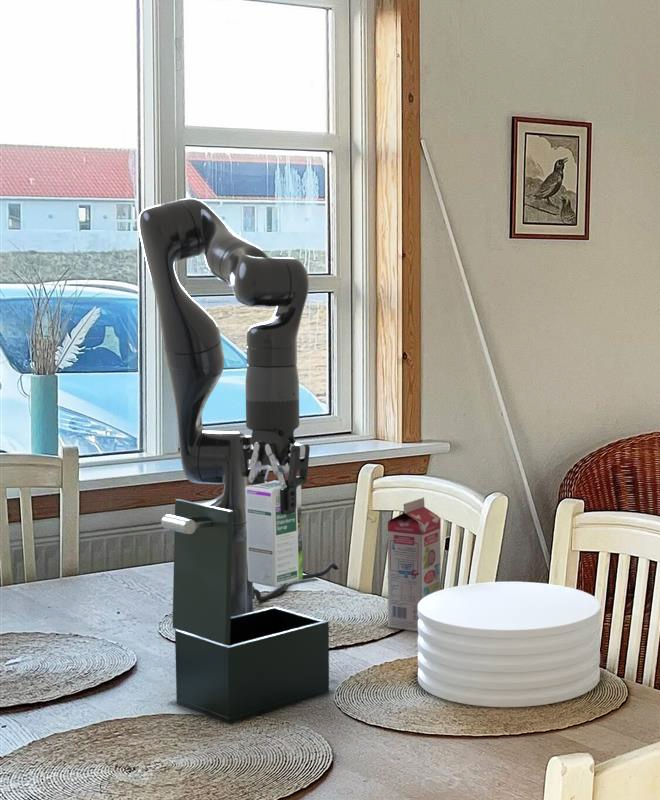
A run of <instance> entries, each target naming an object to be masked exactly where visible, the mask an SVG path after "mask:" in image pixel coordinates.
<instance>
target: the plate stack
mask: <svg viewBox="0 0 660 800" xmlns="http://www.w3.org/2000/svg"><path fill="white" fill-rule="evenodd" d="M601 614H602V605H601V602H600V601H599V599H598V598H596V596H594V595H592V594H590V593H589V592H586V591H583V590H580V589H577V588H573V587H569V586H564V585H558V584H553V583H552V584H551V583H545V582H532V581H489V582H488V581H487V582H478V583H477V582H476V583H469V584H461V585H455V586H452V587H448V588H443V589H440V591H437V592H434V593H431V594H429V595H427V596H426V597H424V598H423V599H422V600H421V601H420V602H419V603H418V617H419V620H418V631H417V633H418V635H417V650H418V652H417V665H418V669H417V682H418V684H419V686H420V687H421V688H422V689H423V690H424V691H425V692H427V693H429V694H431V695H433V696H434V697H438V698H439V699H443V700H446V701H449V702H452V703H453V702H454V703H458V704H463V705H469V706H478V707H487V708H489V707H490V708H524V707H525V708H527V707H535V706H536V707H537V706H544V705H551V704H556V703H561V702H565V701H568V700H572V699H575V698H578V697H581V696H582V695H585V694H587V693H588V692H590V691H592V690H593V689H595V688H596V687H597V686H598V684H599V682H600V680H601V668H600V664H601V651H600V648H601V634H600V633H601V631H602V630H601V629H602V627H601V625H602V622H601V618H600V617H601Z"/></svg>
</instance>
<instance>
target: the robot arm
mask: <svg viewBox="0 0 660 800" xmlns="http://www.w3.org/2000/svg"><path fill="white" fill-rule="evenodd" d="M138 232H139V238H140V242H141V247H142V250H143V254H144V257H145V262H146V265H147V269H148V273H149V276H150V280H151V284H152V287H153V292H154V296H155V301H156V307H157V311H158V312H157V313H158V318H159V323H160V330H161V337H162V346H163V350H164V355H165V356H164V357H165V360H166V367H167V370H168V375H169V380H170V383H171V388H172V394H173V399H174V401H173V402H174V405H175V413H176V422H177V423H176V424H177V433H178V435H177V436H178V443H179V444H178V445H179V454H180V461H181V468H182V471H183V475H184V476H185V478H186V479H187V480H188V481H189V482H190V483H194V484H201V485H206V484H207V485H224V486H223V492H222V494H221V495H220V496H218V497H216V498H214V499H211V500H208V501H205V502H201V503H200V504H204V505H209V506H213V507H218V508H222V509H227V510H231V511H233V539H232V581H231V617H234V616H238V615H242V614H246V613H250V612H254V600H255V599H256V600H257V601H259V602H264V601H266V600H267V601H268V600H269V599H272V598H273V597H275V596H276V595H278V594H279V593H281V592H282V591H283V590H284V589H285V588H286V585H288V583H286V584H283V585H279V586H278V587H276V588H275V589H274V590H271V592H269V593H267V594H265V595H263V596H261V592H260V590H259V589H256V588H255V586H254V583H253V582H250V581H248V559H247V522H246V487H247V486H249V483H250V485H256V484H261V483H267V482H268V481H266V480H267V479H268V476H269V472H270V470H271V469H272V473H273V474H274V475H275V476H277V478H278V481H279V483H280V486H281V488H282V489H280V510H281V513H282V514H285V515H286V514H292V513H294V512H295V511H296V489H297V487H298V486H300V485H301V486H302V485H306V484H307V482H308V473H309V463H310V462H309V459H310V452H311V451H310V450H311V449H310V445H309V444H308V443H304V444H300V443H298V442H297V441H296V439H295V438H296V437H295V435H294V432H295V430H297V429H298V428H299V426H300V378H299V371H298V333H299V330H300V325H301V321H302V316H303V313H304V309H305V306H306V302H307V299H308V294H309V289H310V278H309V274H308V271H307V269H306V267H305V265H304V263H302V262H301V261H300V260H299V259H297V258H294V257H268V255H267V254H266V253H265V251H263V250H262V248H260V247H259V246H257V245H256V244H255V245H254V244H253V243H251V242H249V241H248V240H246V239H244V238H242V237H240V236H239V235H237V234H236V233H235V232H234V231H233V230H232V228H230V227H229V226H228V225H227V224H226V222H225V221H223V219H222V218H221V217H219V216H218V215H217V213H216V212H215V211H214V210H213V209H211V207H209V206H208V205H207V203H205V202H203V201H202V200H200V199H198V198H191V197H190V198H183V199H178V200H174V201H170V202H166V203H161V204H157V205H154V206H150V207H146V208H145V209H142V211H141V212H140V214H139V216H138ZM203 254H204V260H205V264H206V267H207V268H208V271H210V273H212V275H213V276H214V277H216V278H217V279H218V280H220V281H221V282H223V283H225V284H227V285H228V286H229V287H230V289H231V291H232V293H233V295H234V297H235V299H236V300H237V301H238V302H239V303H240V304H242V305H244V306H248V307H251V308H269V307H271V308H272V307H274V308H275V307H276V308H275V311H274V313H273V315H272V317H271V318H270V319H269V320H267V321H264V322H260V323H256V324H253V325H251V326H250V327H249V328H248V330H247V331H246V332H247V333H246V365H247V366H246V373H245V374H246V376H245V426H246V429H248V430H250V431H252V432H251V435H245V434H244V433H243V432H240V431H227V430H226V431H225V430H205V429H204V426H203V411H204V408H205V406H206V404H207V402H208V399H209V398H210V396H211V395H212V393H213V391H214V389H215V388H216V387H217V384H218V382H219V380H220V379H221V376H222V374H223V371H224V368H225V356H224V355H225V354H224V350H223V343H222V337H221V331H220V329H219V326H218V325H217V323H216V321H215V320H214V319H213V317H212V316H211V315H210V314H209V313H208V312H207V311H206V310H205V309H204V307H202V306H201V305H200V304H199V303H198V302H196V301H195V300H194V299H193V297H191V296H190V295H189V294H188V292H187V291H186V290H185V288H184V287H183V286H182V284H181V283H180V281H179V279H178V276H177V274H176V270H175V269H176V268H175V263H176V262H180V261H183V260H187V259H190V258H195V257H199V256H201V255H203ZM298 471H299V476H298ZM286 474H288V479H287V475H286ZM331 569H333V570H337V571H338V570H339V567H338V565H337V564H336V563H334V562H331V563H329V564H327V566H326V567H325V568H324V569H323V570H322V571H319V572H314V573H313V572H312V573H308V574H303V579H302V580H308V579H309V580H310V579H314V578H318V577H323V576H325V575H326V574H328V573H329V572H330V570H331Z"/></svg>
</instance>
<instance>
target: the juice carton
mask: <svg viewBox="0 0 660 800" xmlns="http://www.w3.org/2000/svg"><path fill="white" fill-rule="evenodd" d="M441 520H442V519H441V517H440V516H439V515H438V514H436V513H435V512H433V511H431V510H430V509H429V508H427V507H425V497H424V496H423V497H422V498H417V499H415V500H412V501H408V502H406V503H403V513H401V514H399V515H397V516H395V517H393V518H390V520H388V521H387V628H391V629H399V630H400V629H401V630H407V631H414V632H418V620H419V617H418V603H419V602H420V601H421V600H422V599H423V598H424V597H426V596H427V595H429V594H431V593H434V592H437V591H440V590H441V559H442V558H441V555H442V554H441V548H442V547H441V540H442V538H441V537H442V536H441V534H442V533H441V531H442V530H441V525H442V524H441V523H442V521H441Z"/></svg>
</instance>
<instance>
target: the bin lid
mask: <svg viewBox="0 0 660 800" xmlns="http://www.w3.org/2000/svg"><path fill="white" fill-rule="evenodd" d="M160 525H161V527H162V528H164V529H165V530H170V531H174V534H173V535H174V537H173V580H172V581H173V583H172V585H173V586H172V628H173V629H174V630H175V629H176V630H181V631H184V632H187V633H190V634H193V635H196V636H200V637H203V638H206V639H209V640H212V641H215V642H218V643H221V644H224V645H228V644H230V623H231V581H232V539H233V511H231V510H227V509H222V508H218V507H213V506H209V505H204V504H201V503H199V502H194V501H190V500H186V499H181V498H177V499H174V515H173V514H165V515H163V516H162V518H161V520H160Z"/></svg>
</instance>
